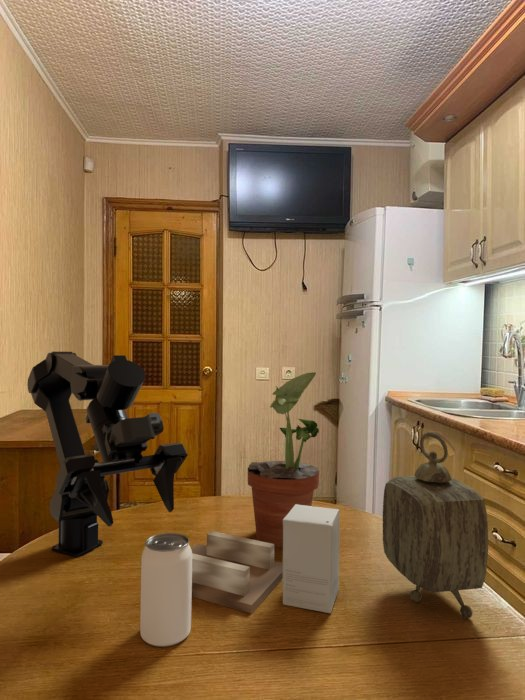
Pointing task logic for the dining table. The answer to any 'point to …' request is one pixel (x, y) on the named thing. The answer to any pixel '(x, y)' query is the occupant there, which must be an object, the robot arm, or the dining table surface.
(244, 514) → the dining table surface
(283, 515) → the potted plant
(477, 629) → the dining table surface
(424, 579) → the tabletop clock
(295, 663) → the dining table surface
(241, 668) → the dining table surface
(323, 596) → the supplement box
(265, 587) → the slot block
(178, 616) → the can
